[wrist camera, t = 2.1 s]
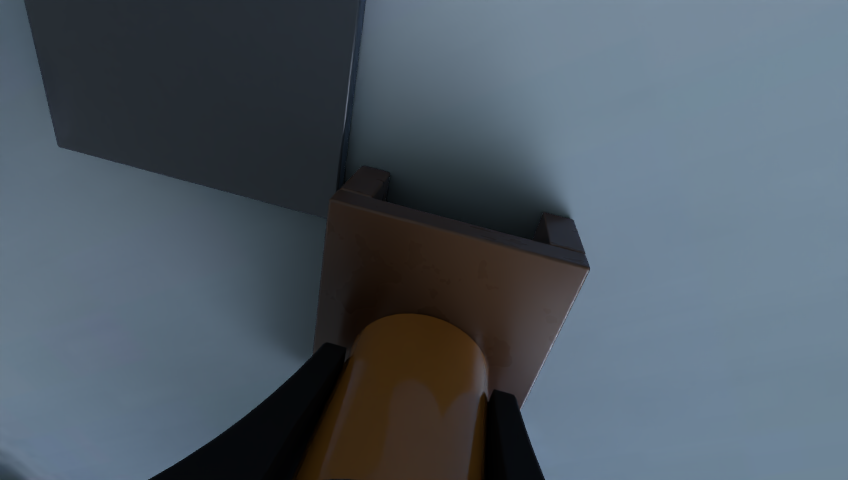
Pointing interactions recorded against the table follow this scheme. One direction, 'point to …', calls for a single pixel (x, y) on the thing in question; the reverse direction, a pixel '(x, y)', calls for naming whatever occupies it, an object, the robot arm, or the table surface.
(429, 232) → the shelf
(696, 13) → the table surface
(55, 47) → the slate pad
